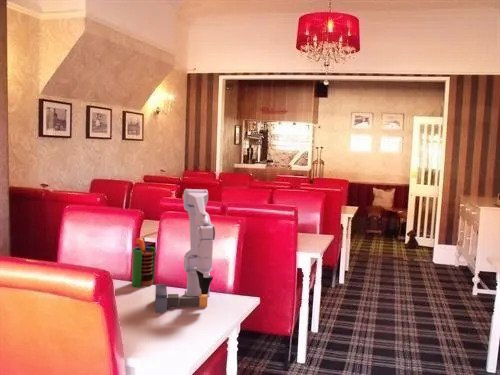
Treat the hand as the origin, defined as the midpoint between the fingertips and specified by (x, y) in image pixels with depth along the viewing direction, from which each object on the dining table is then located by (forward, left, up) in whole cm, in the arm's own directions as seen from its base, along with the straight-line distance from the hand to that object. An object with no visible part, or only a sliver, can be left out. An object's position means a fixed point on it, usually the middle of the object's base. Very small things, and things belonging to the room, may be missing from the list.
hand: (203, 291), depth 186 cm
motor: (+24, -30, -6) cm, 39 cm away
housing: (+16, 0, -6) cm, 17 cm away
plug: (+6, 0, -6) cm, 9 cm away
